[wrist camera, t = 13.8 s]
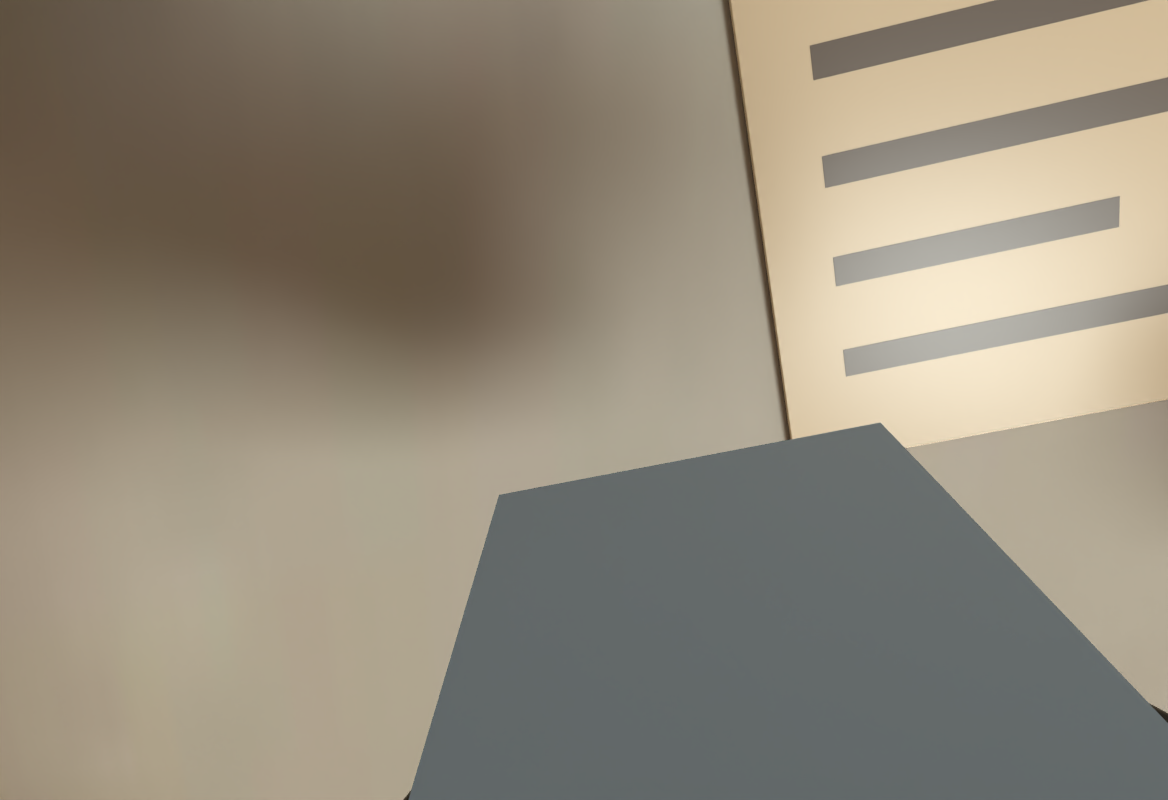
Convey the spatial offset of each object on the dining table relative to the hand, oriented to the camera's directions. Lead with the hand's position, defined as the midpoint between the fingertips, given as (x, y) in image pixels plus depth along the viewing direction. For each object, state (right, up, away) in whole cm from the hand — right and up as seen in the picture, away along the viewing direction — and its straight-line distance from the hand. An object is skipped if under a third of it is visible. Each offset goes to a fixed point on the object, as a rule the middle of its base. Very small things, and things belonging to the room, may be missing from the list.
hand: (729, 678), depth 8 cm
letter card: (+8, +8, +8) cm, 14 cm away
